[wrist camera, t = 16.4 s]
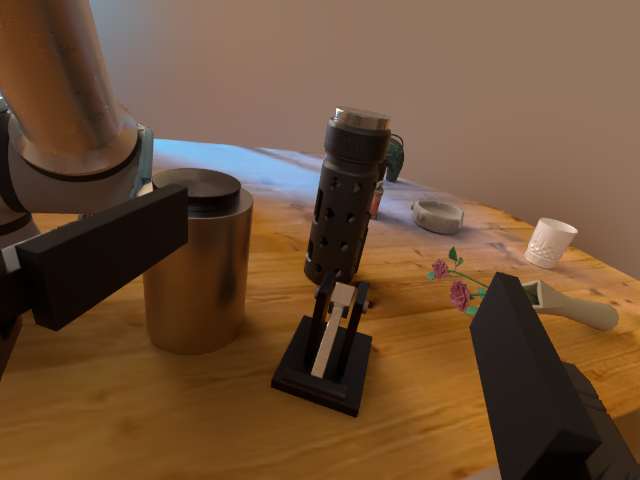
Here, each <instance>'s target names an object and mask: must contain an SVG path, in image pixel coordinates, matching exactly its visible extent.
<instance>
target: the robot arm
mask: <svg viewBox="0 0 640 480" xmlns="http://www.w3.org/2000/svg"><path fill="white" fill-rule="evenodd" d="M0 94H1V96H2V97H3V98H1V97H0V381H1V378H2V376H3V373H4V371H5V368H6V366H7V363H8V360H9V358H10V355H11V353H12V350H13V348H14V345H15V342H16V340H17V337H18V335H19V332H20V330H21V327H22V318H21V314H23V313H25V312H26V311H28V310H30V309H32V312H33V315H34V319H35V323H36V324H37V325H40V326H43V327H45V328H48V329H51V330H53V331H56V332H57V331H58V330H60V329H61V328H63V327H64V326H66V325H67V324H69V323H70V322H72V321H73V320H75V319H76V318H77V317H79V316H80V315H82V314H83V313H85V312H86V311H88V310H89V309H91V308H92V307H94V306H95V305H97V304H98V303H100V302H101V301H102V300H104V299H105V298H107V297H108V296H110V295H111V294H113V293H114V292H116V291H117V290H119V289H120V288H122V287H123V286H124V285H126V284H127V283H129V282H130V281H132V280H133V279H135V278H136V277H138V276H139V275H141V274H142V273H144V272H145V271H147V270H148V269H149V268H151V267H152V266H154V265H155V264H157V263H158V262H160V261H161V260H163V259H164V258H166V257H167V256H169V255H170V254H171V253H173V252H174V251H176V250H177V249H179V248H180V247H182V246H183V245H185V244H186V243H188V187H185V186H181V185H178V184H174V183H172V184H169V185H166V186H164V187H161V188H159V189H156V190H154V191H151V192H149V193H146V194H144V195H141V196H139V197H137V195H136V194H137V192H138V190H139V189H140V188H141V187H142V186H144V185H146V184H148V183H150V182H151V175H152V160H153V139H154V135H153V131H152V130H151V129H150V128H148V127H144V126H142V125H139V124H136V123H135V120H134V118H133V116H132V114H131V113H130V112H129V111H128V109H127V108H126V107H125V106H124V105H123V104H122V103H120V102H119V101H118V100H116V99H114V96H113V92H112V89H111V84H110V80H109V77H108V73H107V69H106V65H105V61H104V57H103V54H102V50H101V46H100V42H99V38H98V35H97V31H96V28H95V23H94V19H93V16H92V12H91V8H90V4H89V0H0ZM4 100H5V101H4ZM6 103H7V104H6ZM9 108H10V110H11V111H12V113H11V112H9V111H8V109H9ZM31 213H59V214H80V215H79V217H78V220H77V221H74V222H70V223H68V224H65V225H63V226H60V227H58V228H57V229H53V230H50V231H48V232H45V234H42V233H41V231H40V230H39V228H38V227H37V226H36V224H35V223H34V221H33V219H32V215H31ZM86 214H94V215H91V216H88V217H86V218H85V216H86ZM470 331H471V336H472V341H473V346H474V350H475V355H476V360H477V365H478V369H479V374H480V379H481V384H482V388H483V393H484V398H485V402H486V407H487V412H488V417H489V421H490V426H491V431H492V436H493V440H494V445H495V450H496V455H497V459H498V464H499V468H500V474H501V478H502V480H640V464H638V463H637V462H636V460H635V458H634V457H633V455H632V453H631V452H630V450H629V448H628V446H627V445H626V443H625V441H624V440H623V438H622V436H621V434H620V433H619V431H618V429H617V427H616V426H615V424H614V422H613V420H612V419H611V417H610V415H609V414H607V413H606V411H607V410H606V408H605V407H604V405H603V403H602V401H601V400H599V399H598V398H599V396H598V395H597V393H596V391H595V389H594V388H593V386H592V384H591V382H590V381H589V380H588V379H587V378H586V377H585V376H584V375H583V374H582V373H581V372H580V370H579V369H578V368H577V367H576V366H575V365H573V364H569V363H566V362H563V361H561V360H560V358H559V356H558V354H557V352H556V350H555V348H554V346H553V344H552V343H551V341H550V339H549V337H548V335H547V333H546V331H545V329H544V327H543V325H542V323H541V321H540V319H539V317H538V315H537V314H536V312H535V310H534V308H533V306H532V304H531V302H530V300H529V298H528V296H527V294H526V292H525V290H524V288H523V286H522V284H521V283H520V281H519V279H518V277H515V276H511V275H507V274H504V273H500V272H496V274H495V276H494V278H493V280H492V282H491V284H490V286H489V288H488V290H487V292H486V294H485V296H484V298H483V300H482V302H481V305H480V307H479V309H478V311H477V313H476V315H475V317H474V319H473V321H472V323H471V325H470Z"/></svg>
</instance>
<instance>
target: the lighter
mask: <svg viewBox="0 0 640 480" xmlns="http://www.w3.org/2000/svg"><path fill="white" fill-rule="evenodd" d="M382 185H383V183H382V181H379V182H377V186H376V190H375V194H374V198H373V201H372V205H371V209H370V213H371V214H372V217H371V218H370V219H373V220H375V219H376V218H377V211H378V207H379V204H380V200H381V196H382V195H383V191H384V190H383V188H382Z"/></svg>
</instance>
